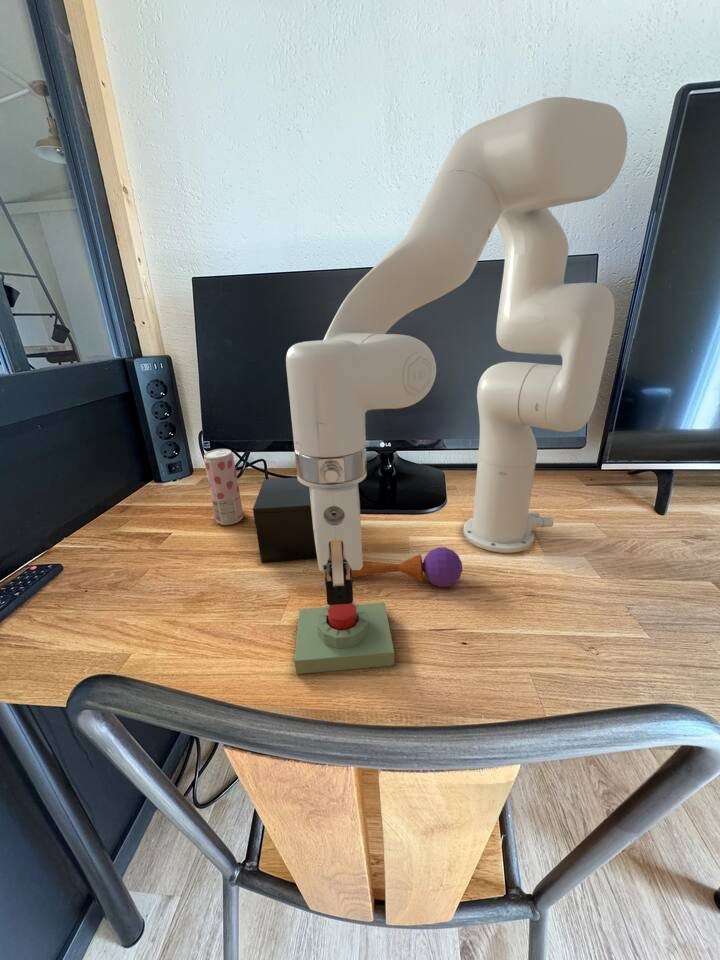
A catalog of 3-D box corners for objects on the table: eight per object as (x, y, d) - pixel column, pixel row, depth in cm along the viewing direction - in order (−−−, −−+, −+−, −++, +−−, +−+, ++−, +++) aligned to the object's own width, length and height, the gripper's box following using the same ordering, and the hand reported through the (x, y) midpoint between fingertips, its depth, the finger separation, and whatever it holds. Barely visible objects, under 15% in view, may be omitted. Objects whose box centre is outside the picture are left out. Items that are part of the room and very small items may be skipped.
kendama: (337, 544, 67) (459, 541, 64) (341, 577, 68) (460, 575, 65) (329, 559, 61) (463, 556, 58) (333, 594, 63) (464, 593, 59)
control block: (384, 614, 57) (384, 591, 56) (394, 665, 49) (394, 640, 47) (300, 621, 56) (297, 598, 55) (296, 674, 48) (292, 649, 47)
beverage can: (247, 513, 88) (237, 448, 82) (237, 526, 82) (225, 457, 76) (223, 512, 88) (210, 448, 82) (211, 525, 83) (197, 457, 77)
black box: (346, 521, 82) (344, 478, 79) (349, 556, 71) (347, 507, 67) (270, 527, 82) (264, 483, 78) (261, 563, 70) (253, 513, 66)
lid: (348, 478, 79) (347, 455, 77) (351, 506, 67) (350, 480, 65) (264, 483, 78) (261, 460, 76) (253, 513, 66) (249, 487, 64)
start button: (355, 609, 53) (355, 599, 52) (357, 629, 50) (357, 618, 49) (328, 611, 53) (327, 601, 52) (328, 632, 49) (327, 621, 49)
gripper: (373, 489, 36) (376, 643, 43) (360, 440, 50) (364, 563, 57) (290, 494, 36) (307, 649, 43) (300, 443, 49) (312, 567, 56)
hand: (340, 599), depth 50 cm, fingers closed
